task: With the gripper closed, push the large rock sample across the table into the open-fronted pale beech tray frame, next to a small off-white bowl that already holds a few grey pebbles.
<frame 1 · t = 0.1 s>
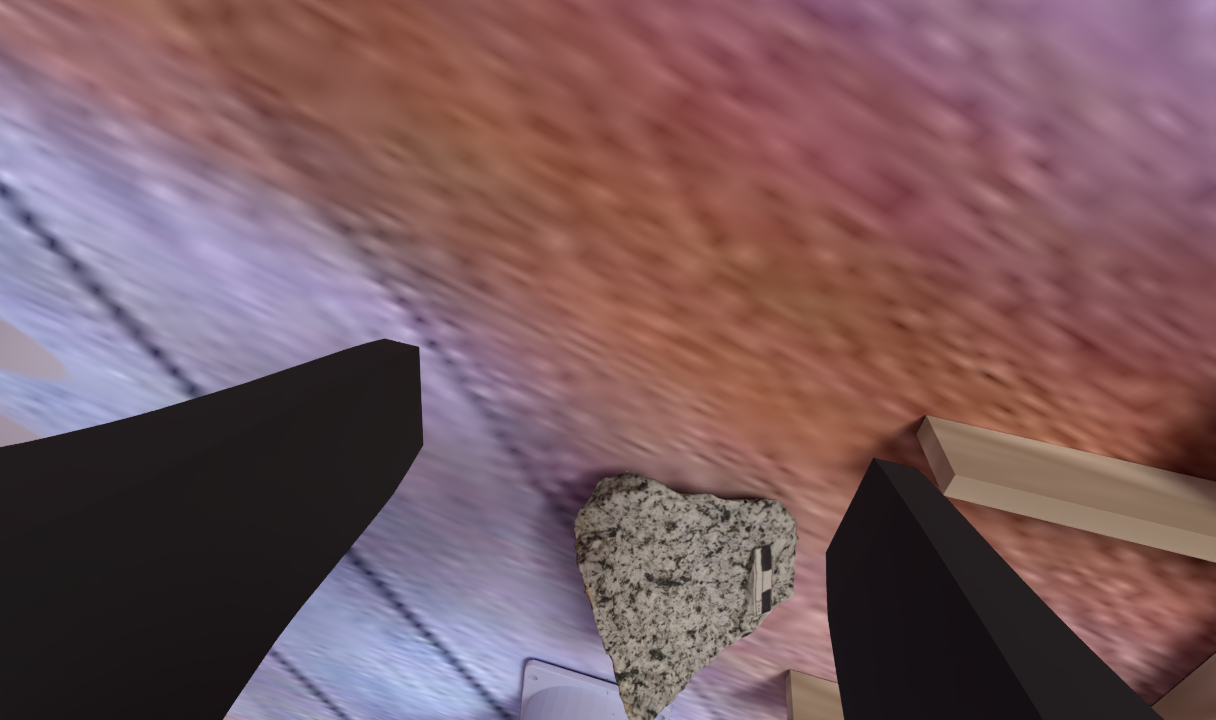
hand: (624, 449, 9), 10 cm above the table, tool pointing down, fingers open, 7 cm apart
rock sample: (689, 522, 23), on the table
tray frame: (1014, 616, 21), on the table
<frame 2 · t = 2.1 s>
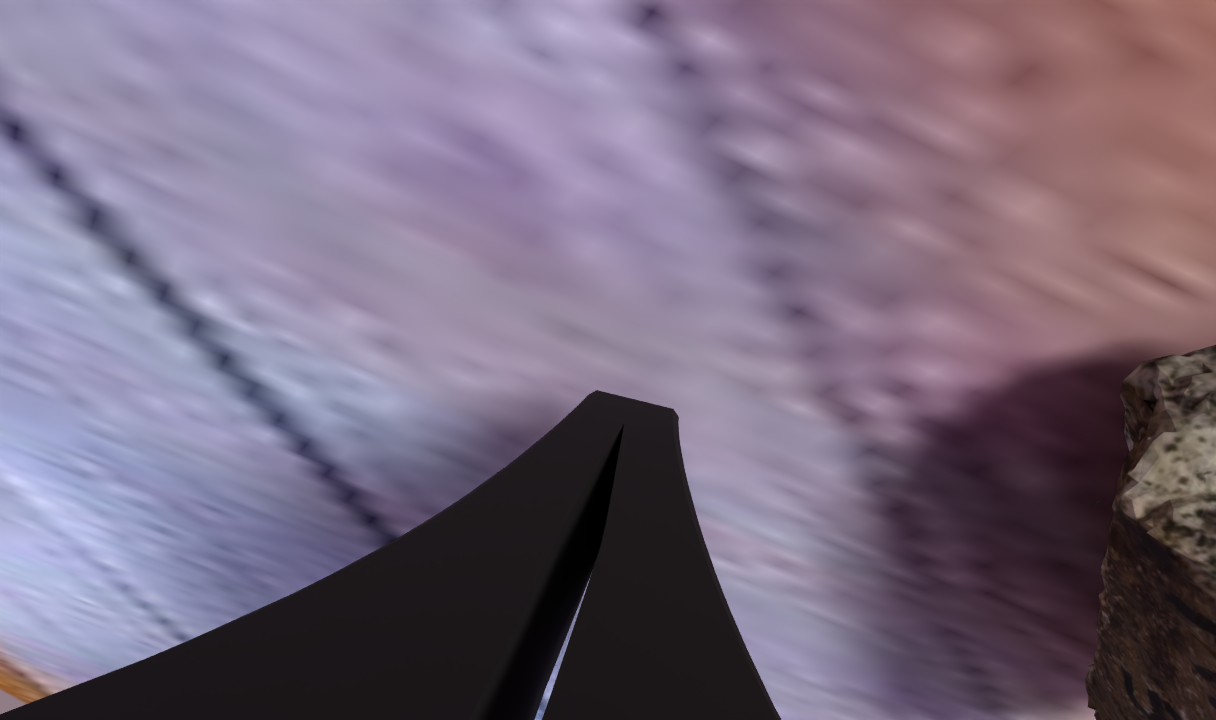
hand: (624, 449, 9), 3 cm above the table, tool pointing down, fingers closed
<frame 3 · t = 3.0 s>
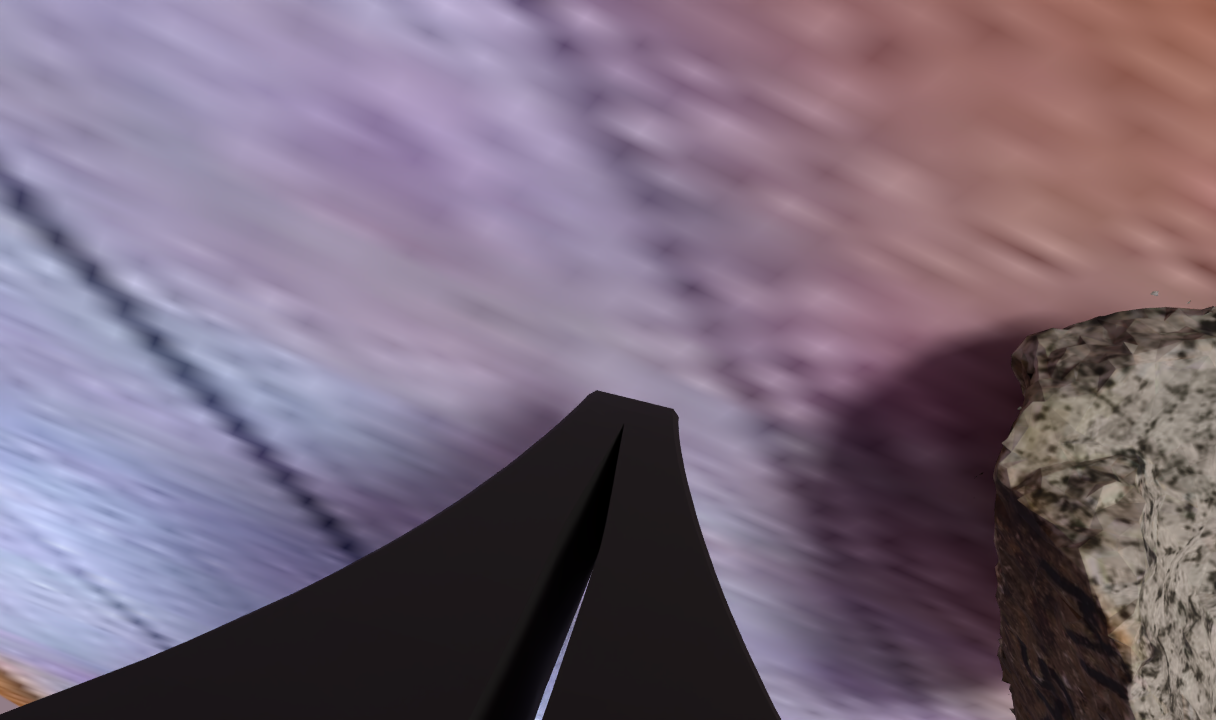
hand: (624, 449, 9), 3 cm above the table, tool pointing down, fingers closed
rock sample: (1157, 455, 10), on the table
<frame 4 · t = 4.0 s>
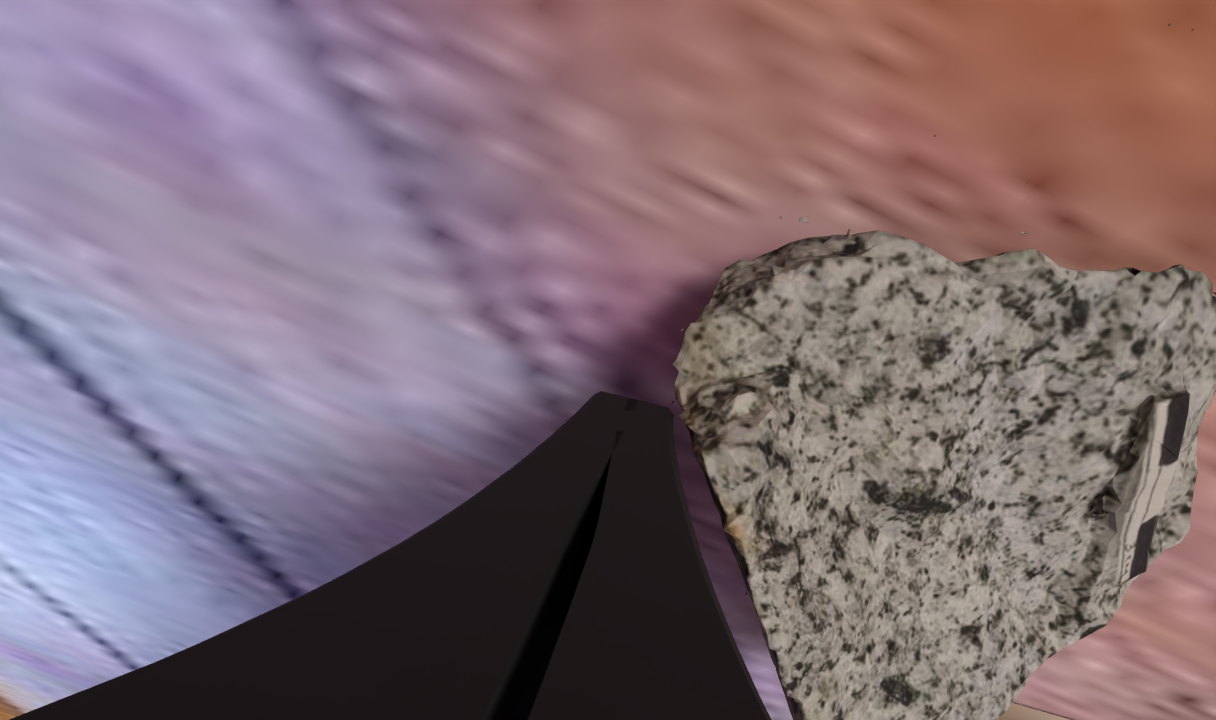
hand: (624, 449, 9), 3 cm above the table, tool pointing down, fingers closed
rock sample: (904, 393, 11), on the table, touching gripper
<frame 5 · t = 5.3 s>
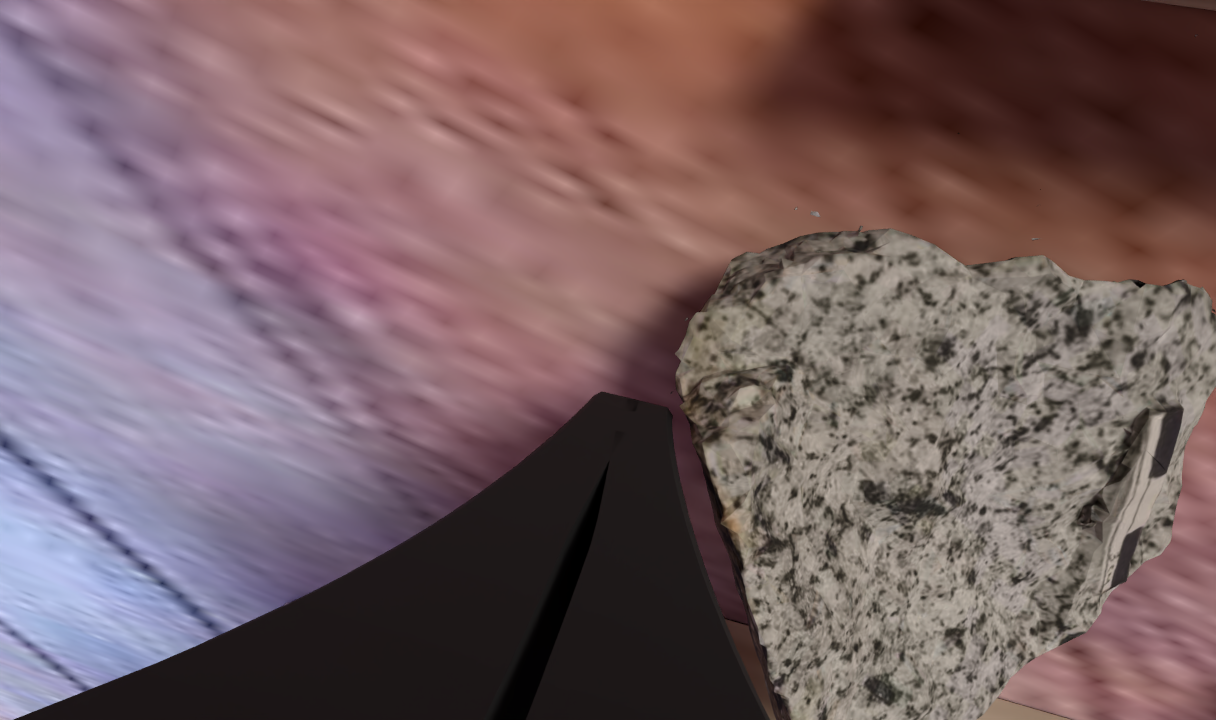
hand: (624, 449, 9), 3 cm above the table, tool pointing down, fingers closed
rock sample: (899, 395, 11), on the table, touching gripper
tray frame: (1097, 470, 10), on the table
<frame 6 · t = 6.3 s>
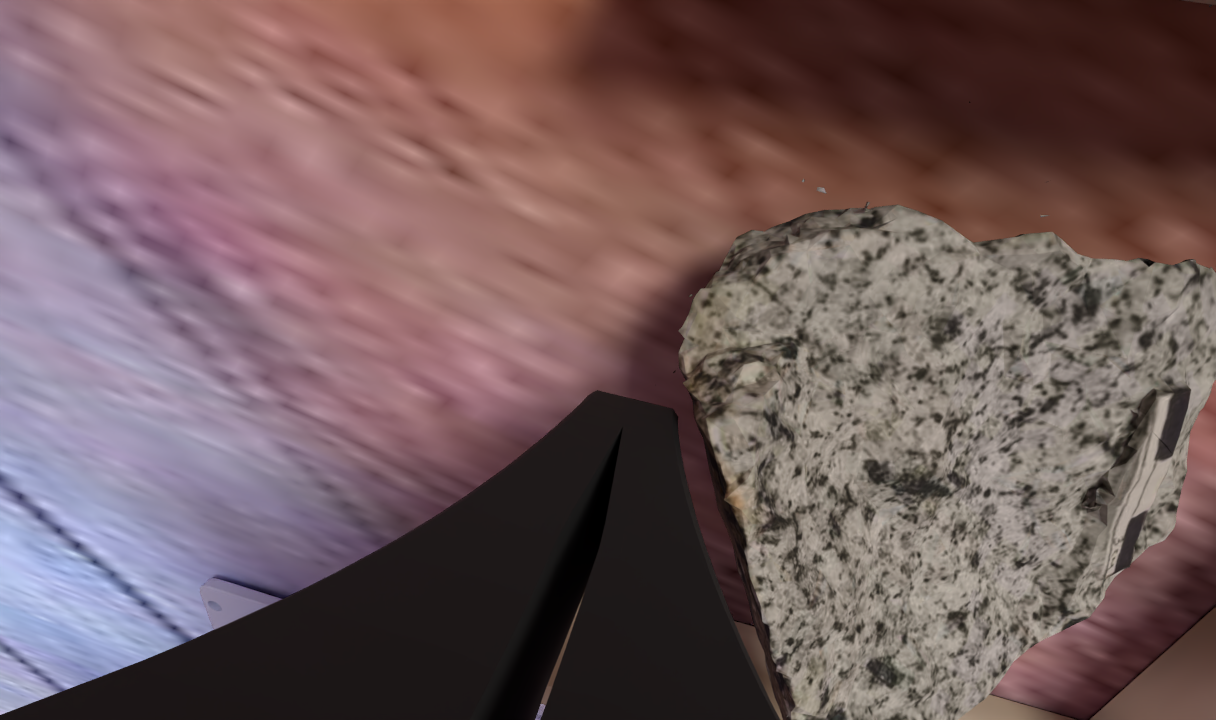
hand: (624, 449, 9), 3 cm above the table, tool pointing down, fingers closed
rock sample: (902, 380, 11), on the table
tray frame: (934, 429, 11), on the table
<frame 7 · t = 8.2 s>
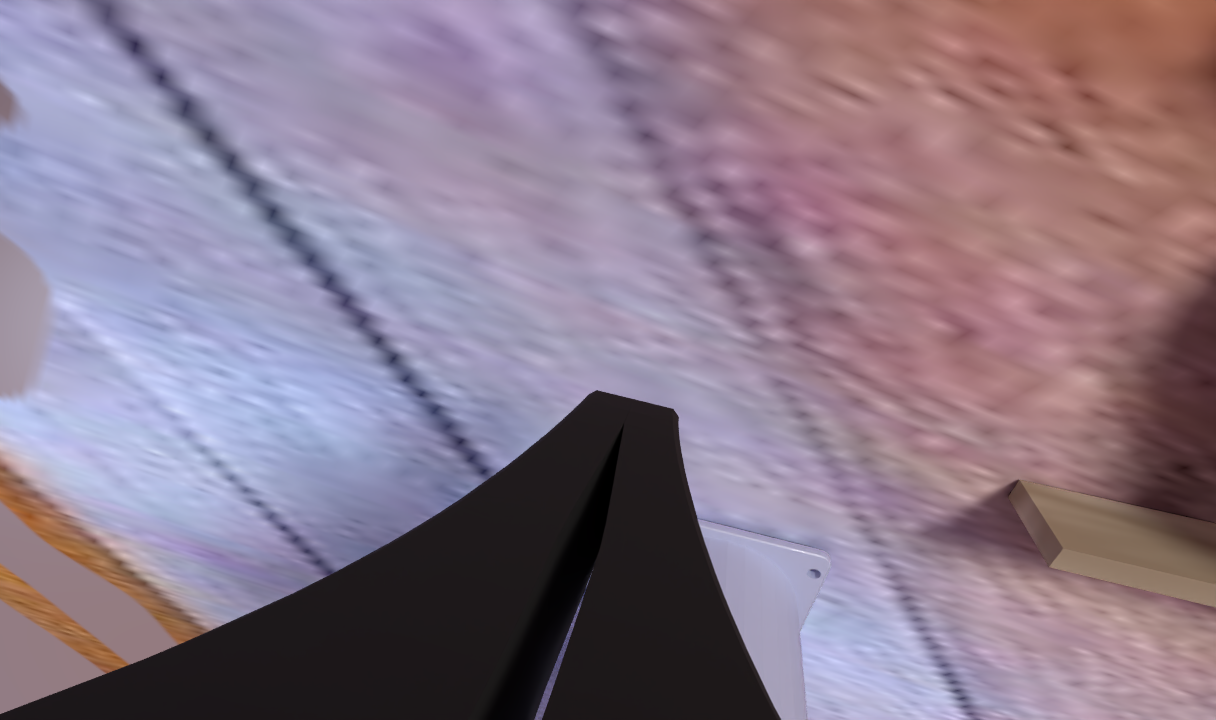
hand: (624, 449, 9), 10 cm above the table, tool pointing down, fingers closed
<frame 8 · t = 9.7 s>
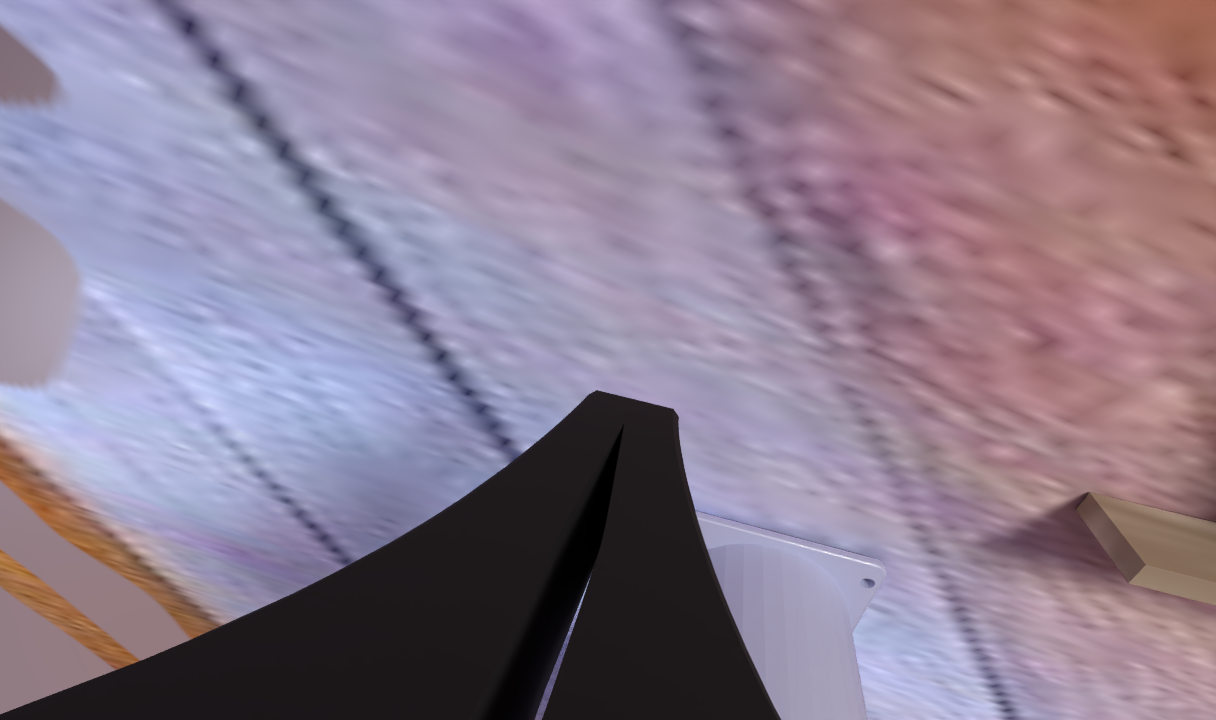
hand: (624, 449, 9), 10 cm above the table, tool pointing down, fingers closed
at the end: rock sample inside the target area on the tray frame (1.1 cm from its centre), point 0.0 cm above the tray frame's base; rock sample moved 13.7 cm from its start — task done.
